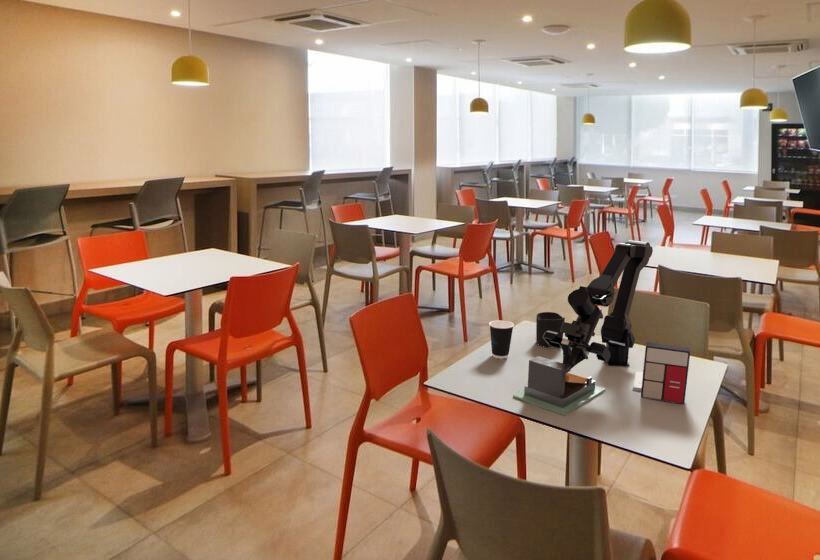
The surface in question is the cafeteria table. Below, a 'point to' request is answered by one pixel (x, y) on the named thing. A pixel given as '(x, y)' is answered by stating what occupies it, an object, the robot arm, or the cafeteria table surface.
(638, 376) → the external hard drive
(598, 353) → the robot arm
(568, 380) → the orange upright panel
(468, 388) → the cafeteria table surface
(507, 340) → the dixie cup
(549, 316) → the pen holder
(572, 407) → the green flat slab
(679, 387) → the panelled box
